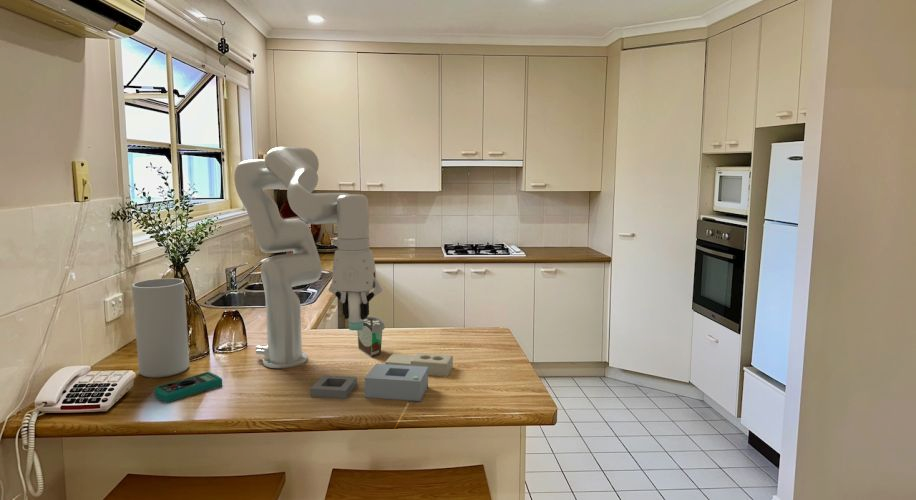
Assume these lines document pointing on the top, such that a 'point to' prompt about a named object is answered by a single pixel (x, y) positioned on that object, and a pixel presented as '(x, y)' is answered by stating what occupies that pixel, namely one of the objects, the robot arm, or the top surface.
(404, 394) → the port block
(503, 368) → the top surface
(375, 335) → the food container
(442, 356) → the electrical outlet
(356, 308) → the plug
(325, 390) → the grey square socket base
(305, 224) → the robot arm
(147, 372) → the cylinder vase
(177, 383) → the digital multimeter
